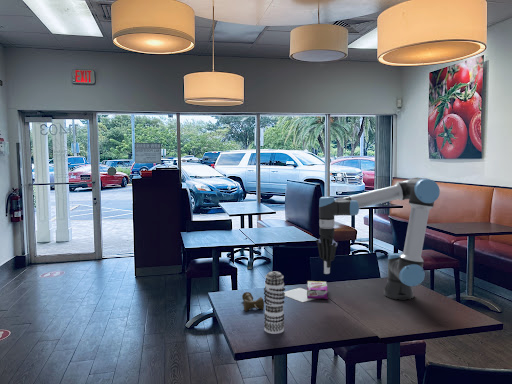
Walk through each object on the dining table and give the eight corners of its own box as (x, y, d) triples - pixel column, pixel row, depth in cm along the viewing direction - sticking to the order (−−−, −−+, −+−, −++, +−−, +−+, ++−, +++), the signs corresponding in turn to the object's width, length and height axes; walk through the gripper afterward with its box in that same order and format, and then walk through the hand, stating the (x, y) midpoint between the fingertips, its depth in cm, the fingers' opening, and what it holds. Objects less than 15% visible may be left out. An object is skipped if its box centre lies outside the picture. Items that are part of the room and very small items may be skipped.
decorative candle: (289, 329, 178) (289, 272, 176) (275, 336, 171) (276, 277, 169) (272, 323, 184) (273, 268, 182) (259, 330, 177) (259, 273, 175)
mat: (323, 296, 222) (323, 295, 222) (302, 302, 212) (302, 302, 212) (299, 288, 236) (299, 287, 236) (278, 293, 226) (278, 293, 226)
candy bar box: (307, 289, 217) (306, 280, 233) (307, 298, 217) (306, 289, 233) (328, 289, 215) (326, 281, 232) (328, 299, 216) (326, 289, 232)
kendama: (255, 301, 216) (266, 313, 196) (237, 303, 213) (247, 315, 194) (255, 289, 215) (266, 301, 196) (237, 291, 213) (247, 303, 194)
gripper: (312, 226, 210) (312, 272, 212) (331, 229, 200) (332, 277, 202) (322, 225, 215) (322, 269, 216) (341, 228, 204) (341, 274, 206)
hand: (327, 273), depth 209 cm, fingers closed
